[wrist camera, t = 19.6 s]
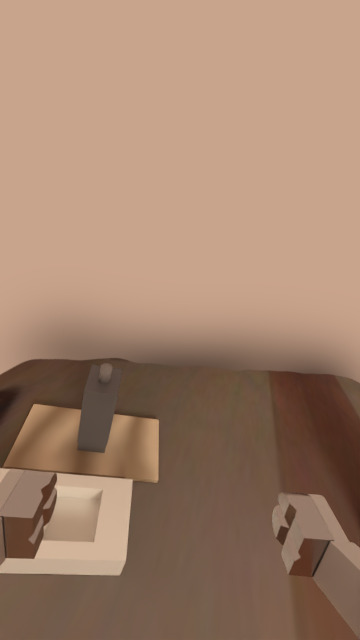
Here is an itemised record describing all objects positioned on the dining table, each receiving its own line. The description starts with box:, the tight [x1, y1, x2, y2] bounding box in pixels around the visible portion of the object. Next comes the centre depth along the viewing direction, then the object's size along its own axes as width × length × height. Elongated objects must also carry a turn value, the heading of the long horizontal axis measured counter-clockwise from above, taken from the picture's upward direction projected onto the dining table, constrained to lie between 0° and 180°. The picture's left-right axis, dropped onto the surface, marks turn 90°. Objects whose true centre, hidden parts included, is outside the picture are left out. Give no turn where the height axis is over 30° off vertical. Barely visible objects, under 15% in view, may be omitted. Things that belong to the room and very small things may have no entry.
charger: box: [77, 363, 123, 453], centre depth 37 cm, size 4×5×14 cm
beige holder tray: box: [0, 468, 133, 575], centre depth 30 cm, size 16×8×4 cm, turn 93°
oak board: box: [3, 404, 159, 483], centre depth 41 cm, size 20×10×1 cm, turn 93°
